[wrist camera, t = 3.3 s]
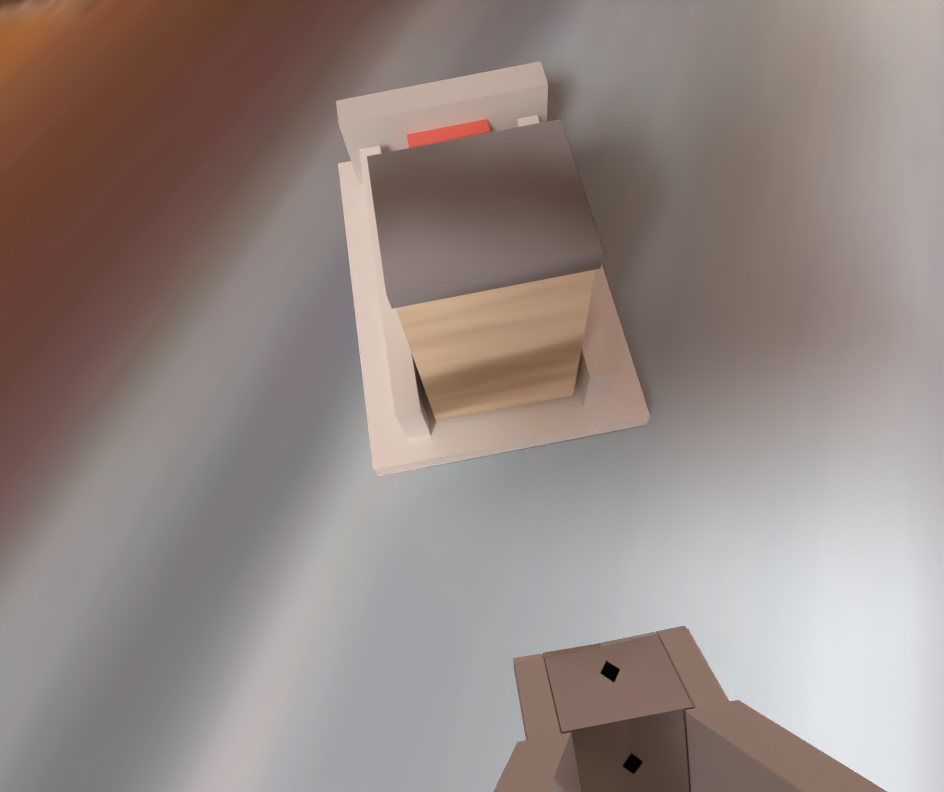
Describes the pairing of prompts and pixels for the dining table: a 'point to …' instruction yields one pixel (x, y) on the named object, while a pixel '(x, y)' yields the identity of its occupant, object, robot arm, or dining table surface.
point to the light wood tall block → (488, 264)
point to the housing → (378, 325)
